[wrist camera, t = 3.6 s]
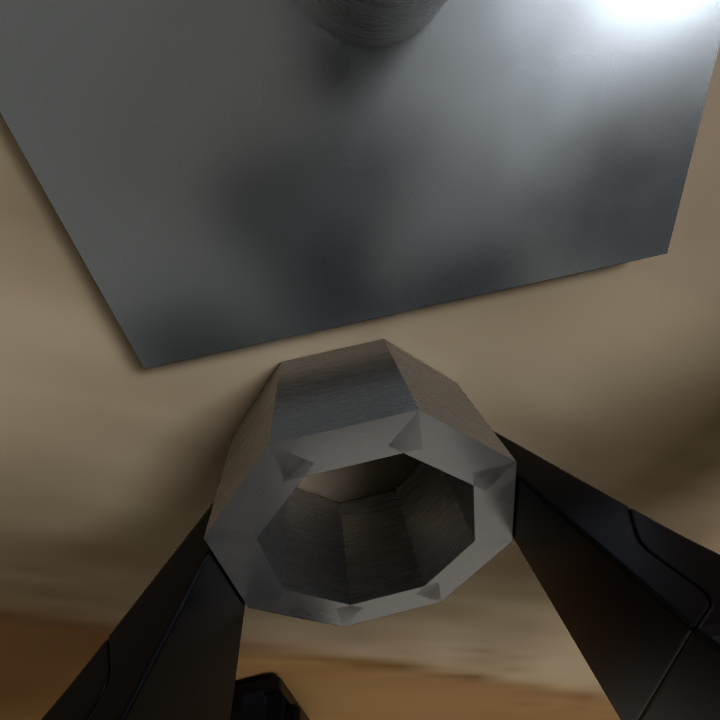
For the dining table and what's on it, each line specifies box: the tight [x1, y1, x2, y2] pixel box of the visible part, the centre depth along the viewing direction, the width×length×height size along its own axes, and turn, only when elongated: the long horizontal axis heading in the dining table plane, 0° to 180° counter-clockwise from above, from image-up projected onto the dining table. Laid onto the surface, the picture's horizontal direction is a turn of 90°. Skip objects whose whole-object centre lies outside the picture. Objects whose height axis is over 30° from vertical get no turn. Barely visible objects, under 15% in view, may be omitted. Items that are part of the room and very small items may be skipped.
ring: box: [204, 339, 517, 627], centre depth 9 cm, size 6×6×3 cm
